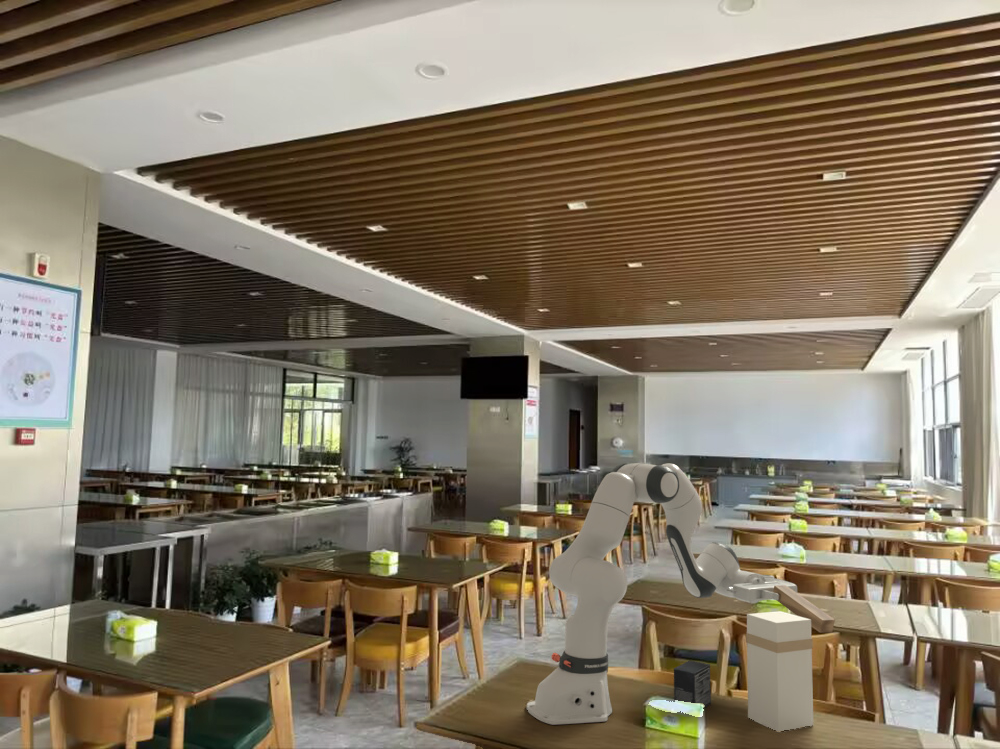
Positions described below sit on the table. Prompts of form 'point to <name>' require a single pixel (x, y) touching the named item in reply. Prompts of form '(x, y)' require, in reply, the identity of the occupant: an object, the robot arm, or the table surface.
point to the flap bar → (804, 609)
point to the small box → (692, 683)
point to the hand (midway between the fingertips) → (786, 596)
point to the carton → (779, 670)
